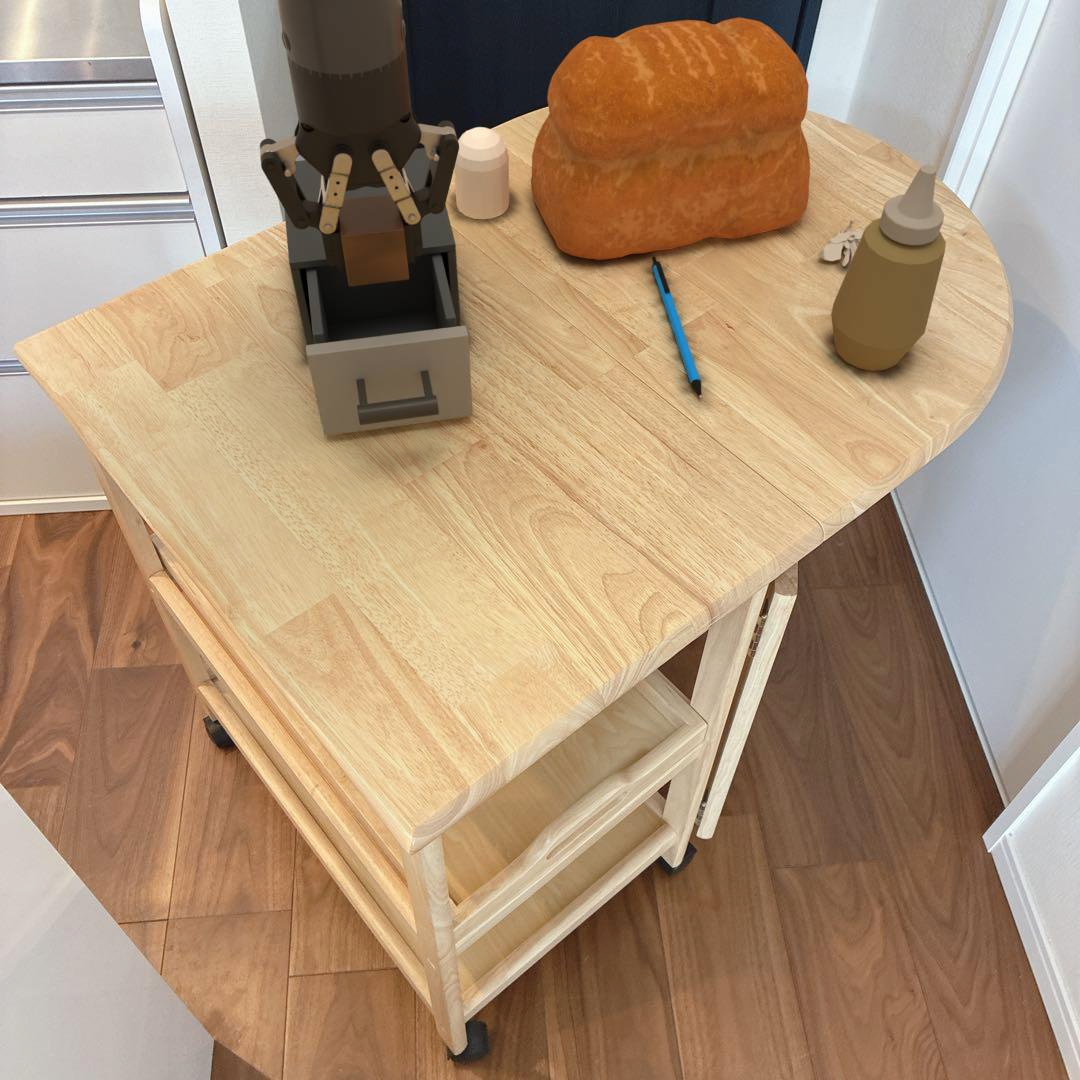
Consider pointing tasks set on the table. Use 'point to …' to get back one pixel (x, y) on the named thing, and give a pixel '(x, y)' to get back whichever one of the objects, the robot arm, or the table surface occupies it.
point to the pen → (677, 327)
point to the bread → (672, 139)
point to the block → (373, 240)
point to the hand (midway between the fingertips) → (375, 261)
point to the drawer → (387, 350)
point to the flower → (836, 245)
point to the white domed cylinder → (482, 174)
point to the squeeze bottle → (891, 279)
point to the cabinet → (309, 242)
